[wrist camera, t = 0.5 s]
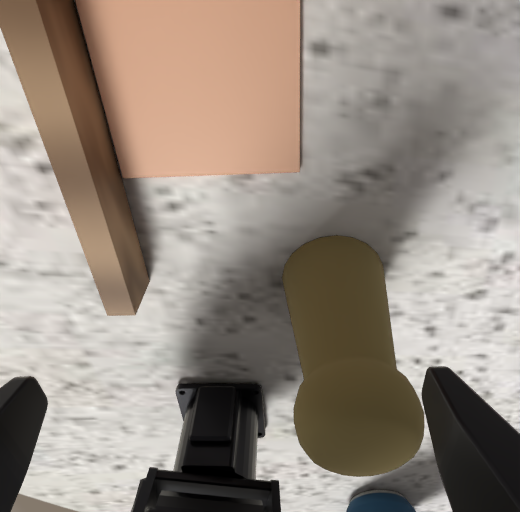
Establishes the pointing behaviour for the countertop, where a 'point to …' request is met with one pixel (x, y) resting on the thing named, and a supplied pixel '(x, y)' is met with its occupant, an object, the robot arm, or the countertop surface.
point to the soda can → (379, 502)
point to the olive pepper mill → (348, 361)
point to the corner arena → (153, 105)
